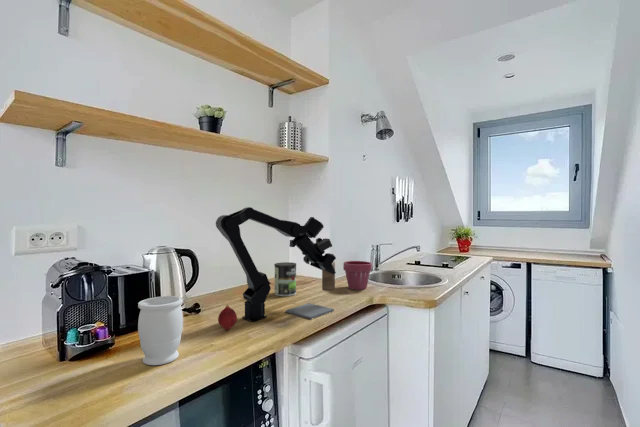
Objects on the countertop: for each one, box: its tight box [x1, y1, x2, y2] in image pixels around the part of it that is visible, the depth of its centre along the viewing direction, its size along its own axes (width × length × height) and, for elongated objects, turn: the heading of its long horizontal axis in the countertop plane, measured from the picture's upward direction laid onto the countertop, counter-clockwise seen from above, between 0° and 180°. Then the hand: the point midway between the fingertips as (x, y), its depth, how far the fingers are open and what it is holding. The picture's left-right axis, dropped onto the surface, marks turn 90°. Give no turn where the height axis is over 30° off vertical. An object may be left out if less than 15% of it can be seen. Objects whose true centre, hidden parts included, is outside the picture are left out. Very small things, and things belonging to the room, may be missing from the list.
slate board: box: [285, 302, 335, 320], centre depth 123 cm, size 13×13×1 cm
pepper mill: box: [321, 261, 336, 292], centre depth 132 cm, size 5×5×13 cm
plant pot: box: [342, 260, 373, 291], centre depth 164 cm, size 14×14×13 cm
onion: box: [217, 304, 238, 331], centre depth 104 cm, size 6×6×8 cm
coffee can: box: [273, 261, 297, 297], centre depth 152 cm, size 10×10×14 cm
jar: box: [137, 295, 184, 366], centre depth 83 cm, size 11×10×15 cm
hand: (331, 272), depth 132 cm, fingers closed on pepper mill, 5 cm apart
